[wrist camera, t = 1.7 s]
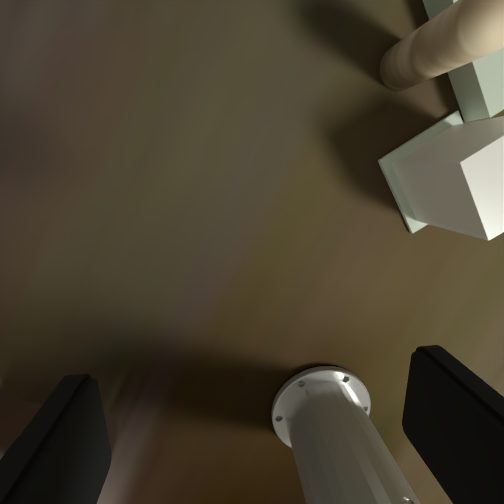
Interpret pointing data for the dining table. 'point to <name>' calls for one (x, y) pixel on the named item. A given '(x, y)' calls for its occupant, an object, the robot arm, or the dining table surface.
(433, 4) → the peg board
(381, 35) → the dining table surface
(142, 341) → the dining table surface
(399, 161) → the block
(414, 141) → the tile
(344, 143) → the dining table surface
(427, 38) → the peg
